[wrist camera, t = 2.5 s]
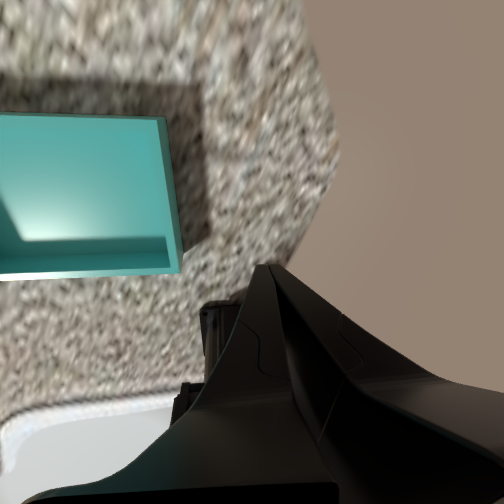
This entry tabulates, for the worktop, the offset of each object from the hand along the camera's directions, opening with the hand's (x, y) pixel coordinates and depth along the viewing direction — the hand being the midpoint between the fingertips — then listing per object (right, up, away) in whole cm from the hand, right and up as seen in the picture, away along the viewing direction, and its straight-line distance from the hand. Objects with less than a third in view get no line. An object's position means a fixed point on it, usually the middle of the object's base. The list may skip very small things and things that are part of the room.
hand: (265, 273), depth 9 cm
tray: (-11, +4, +6) cm, 14 cm away
